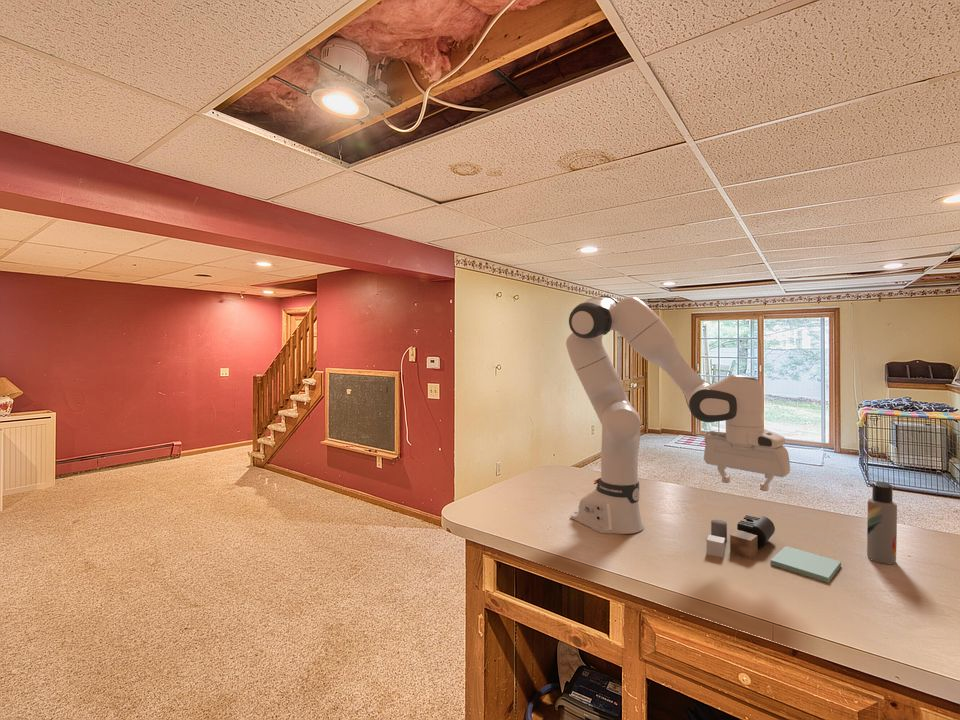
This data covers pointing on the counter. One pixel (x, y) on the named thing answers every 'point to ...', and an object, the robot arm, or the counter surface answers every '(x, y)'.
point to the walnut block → (743, 544)
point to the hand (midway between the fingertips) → (744, 486)
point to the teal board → (806, 563)
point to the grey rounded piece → (719, 529)
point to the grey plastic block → (715, 546)
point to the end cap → (757, 528)
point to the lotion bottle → (882, 525)
